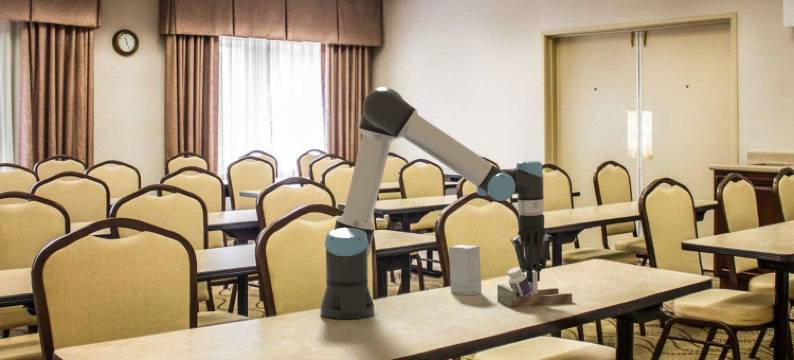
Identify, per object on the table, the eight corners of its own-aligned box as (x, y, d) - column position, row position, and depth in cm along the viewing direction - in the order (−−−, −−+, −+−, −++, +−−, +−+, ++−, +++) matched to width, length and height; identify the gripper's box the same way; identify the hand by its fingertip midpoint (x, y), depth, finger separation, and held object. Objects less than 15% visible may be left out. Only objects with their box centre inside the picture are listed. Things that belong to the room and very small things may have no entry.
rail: (511, 307, 259) (511, 290, 259) (497, 301, 268) (497, 284, 267) (572, 301, 266) (572, 285, 266) (556, 296, 274) (556, 279, 274)
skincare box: (481, 293, 279) (481, 246, 278) (468, 296, 275) (468, 248, 274) (461, 289, 285) (461, 243, 284) (448, 292, 281) (448, 245, 280)
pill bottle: (533, 292, 268) (522, 263, 266) (534, 300, 263) (522, 270, 261) (516, 298, 269) (505, 269, 267) (516, 305, 264) (505, 276, 262)
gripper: (517, 216, 259) (520, 297, 261) (557, 213, 263) (559, 292, 265) (505, 214, 266) (508, 292, 268) (544, 210, 270) (546, 288, 272)
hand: (533, 292), depth 266 cm, fingers closed
